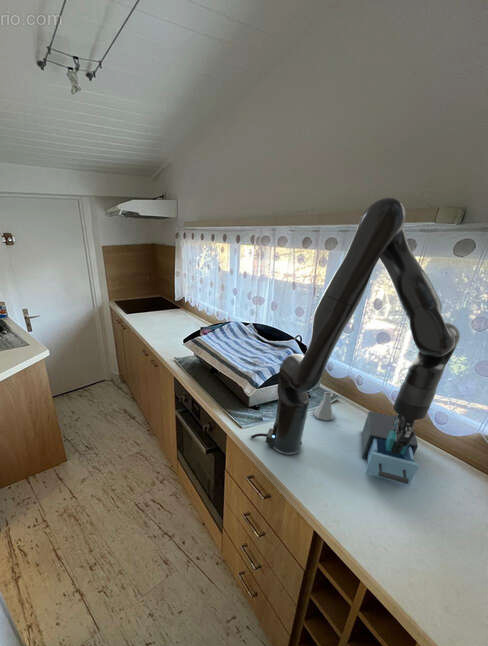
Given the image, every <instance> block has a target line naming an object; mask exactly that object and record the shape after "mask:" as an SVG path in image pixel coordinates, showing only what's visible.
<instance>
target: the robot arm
mask: <svg viewBox="0 0 488 646" xmlns="http://www.w3.org/2000/svg"><path fill="white" fill-rule="evenodd" d="M405 221H406V208H405V206H404V204H403V203H402V201H400V199H398V198H396V197H394V196H393V197H392V196H387V197H382V198H379V199H378V200H376V201H374V202H373V203H372V204H370V205H369V206H368V207H367V208H366V209H365V211H364V212H363V214H362V215H361V217H360V220H359V222H358V225H357V228H356V230H355V233H354V236H353V238H352V240H351V243H350V244H349V247H348V250H347V252H346V254H345V256H344V258H343V260H342V261H341V263H340V265H339V266H338V268H336V269H337V270H335V272H334V274H333V276H332V278H331V279H330V281H329V284H328V285H327V287H326V289H325V290H324V292H323V295H322V296H321V298H320V300H319V302H318V304H317V306H316V308H315V311H314V313H313V319H312V326H311V328H312V329H311V337H310V338H311V339H310V341H309V345H308V347H307V349H306V352H305V354H304V355H303V354H300V353H293V354H290V355H288V356H286V357H285V358H284V359H283V361H282V362H281V364H280V367H279V371H278V379H277V398H278V401H277V407H276V413H275V420H274V421H275V422H274V423H273V427H272V428H269V429H268V432H267V433H255V434H252V435H251V437H250V438H252V439H255V438H257V437H265V443H266V444H269V445H270V448H271V449H274V450H275V451H276V452H277V453H279V454H281V455H286V456H287V455H288V456H293V455H296V454H298V453H299V452H300V451H301V446H302V444H303V441H302V439H303V435H304V431H305V425H306V419H307V415H308V412H309V411H308V410H309V405H310V398H309V394H308V392H311V390H313V389H314V388H316V386H318V385H317V384H318V383H319V382H320V380H321V378H322V376H323V374H324V371H325V369H326V367H327V365H328V363H329V360H330V358H331V356H332V353H333V352H334V349H335V348H336V346H337V343H338V342H339V340H340V338H341V336H342V335H343V333H344V330H345V329H346V327H347V325H348V324H349V322H350V321H351V319H352V317H353V315H354V313H355V312H356V310H357V308H358V307H359V304H360V303H361V301H362V298H363V296H364V294H365V292H366V289H367V287H368V284H369V281H370V279H371V277H372V273H373V272H374V269H375V267H376V265H377V263H378V261H379V260H380V262H381V264H382V265H383V268H384V269H385V271H386V273H387V275H388V278H389V280H390V282H391V285H392V287H393V290H394V293H395V295H396V297H397V300H398V301H399V303H400V306H401V307H402V308H401V309H402V310H403V312H404V314H405V315H406V317H407V319H408V323H409V328H410V332H411V336H412V340H413V343H414V345H415V346H416V349H418V352H417V354H416V357H415V359H413V361H412V362H411V364H410V365H409V368H408V370H407V372H406V374H405V377H404V380H403V382H402V383H401V386H400V388H399V391H398V394H397V395H396V398H395V401H394V403H393V410H394V412H395V413H396V414H395V420H394V423H393V426H394V428H393V431H395V433H396V438H395V440H394V444H393V446H392V449H391V452H392V453H396V454H400V453H401V450H402V448H403V446H405V447H407V446H408V444H409V442H410V440H411V439H412V437H413V436H414V432H415V431H414V432H412V429H413V428H414V429H415V426H416V421H417V420H422V419H424V418H426V416H427V414H428V412H429V409H430V407H431V405H432V403H433V400H434V399H435V396H436V394H437V393H436V392H437V389H438V386H439V383H440V382H441V379H442V378H443V377H442V376H443V374H444V371H445V368H446V366H447V364H448V363H449V361H450V360H451V357H452V356H453V354H454V352H455V351H456V349H457V347H458V345H459V342H460V339H461V334H460V330H459V328H458V327H457V326H455V325H454V324H452V323H450V322H445V320H444V318H443V315H442V309H443V305H442V301H441V299H440V297H439V295H438V293H437V291H436V289H435V287H434V285H433V283H432V281H431V280H430V277H429V276H428V274H427V273H426V272H425V270H424V269H423V267H422V266H421V265H420V263H419V261H418V260H417V258H416V256H415V255H414V253H413V251H412V249H411V247H410V244H409V242H408V239H407V235H406V231H405V227H404V225H405Z"/></svg>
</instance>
